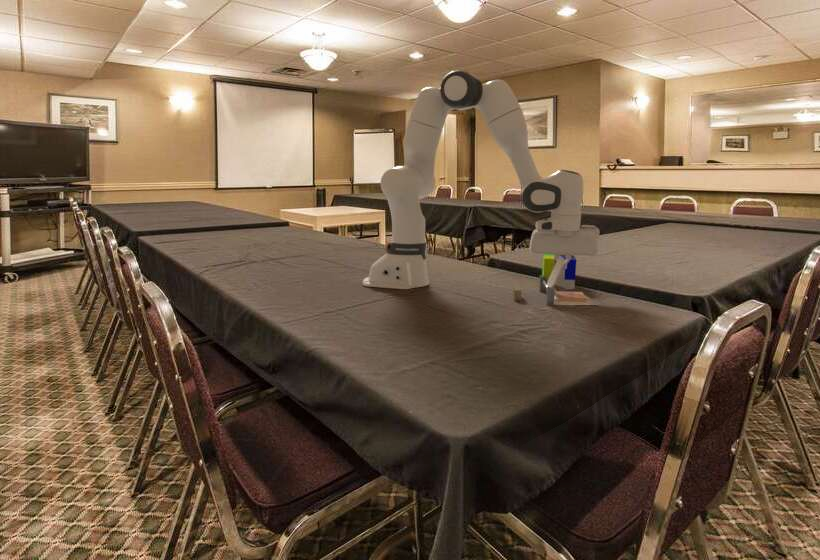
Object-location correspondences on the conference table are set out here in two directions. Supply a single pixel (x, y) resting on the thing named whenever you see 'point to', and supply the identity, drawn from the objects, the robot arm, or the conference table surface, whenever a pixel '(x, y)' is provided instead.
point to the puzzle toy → (566, 275)
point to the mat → (567, 303)
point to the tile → (570, 297)
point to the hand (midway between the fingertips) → (561, 268)
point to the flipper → (555, 275)
